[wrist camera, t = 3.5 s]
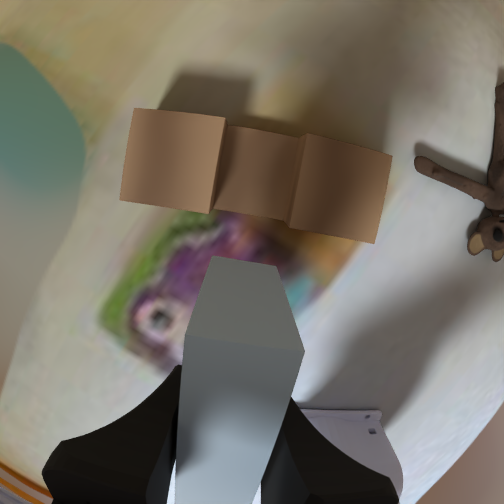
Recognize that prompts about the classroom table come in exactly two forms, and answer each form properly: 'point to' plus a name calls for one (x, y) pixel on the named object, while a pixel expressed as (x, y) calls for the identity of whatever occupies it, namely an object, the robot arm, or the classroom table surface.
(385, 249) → the classroom table surface
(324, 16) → the classroom table surface
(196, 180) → the brown u-shaped block
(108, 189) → the classroom table surface
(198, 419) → the pale grey-blue block
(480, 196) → the brown monkey toy
